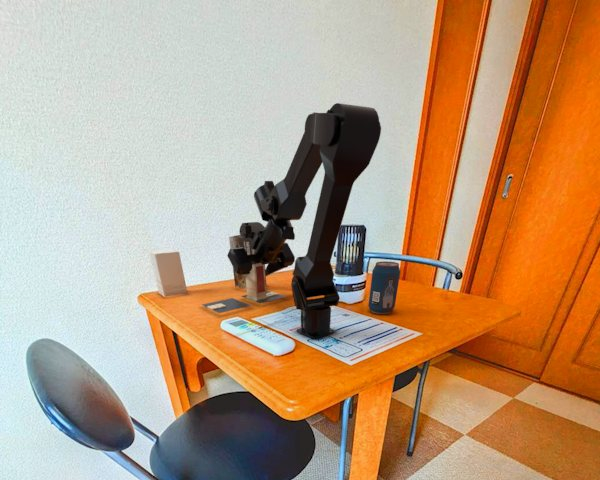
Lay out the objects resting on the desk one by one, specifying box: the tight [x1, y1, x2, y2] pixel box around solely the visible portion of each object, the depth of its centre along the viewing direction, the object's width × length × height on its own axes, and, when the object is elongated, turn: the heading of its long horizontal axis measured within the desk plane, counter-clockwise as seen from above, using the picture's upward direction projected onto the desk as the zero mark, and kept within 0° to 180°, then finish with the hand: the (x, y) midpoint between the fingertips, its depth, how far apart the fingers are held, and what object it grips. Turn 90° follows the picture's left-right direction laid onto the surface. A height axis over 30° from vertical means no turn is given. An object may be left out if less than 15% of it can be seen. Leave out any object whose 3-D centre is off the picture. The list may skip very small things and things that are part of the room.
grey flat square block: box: [241, 290, 287, 304], centre depth 94 cm, size 10×10×1 cm
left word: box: [201, 297, 252, 314], centre depth 87 cm, size 10×10×1 cm
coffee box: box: [228, 234, 267, 290], centre depth 100 cm, size 9×6×16 cm
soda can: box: [367, 261, 401, 315], centre depth 81 cm, size 7×7×12 cm
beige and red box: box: [246, 263, 267, 300], centre depth 89 cm, size 5×4×11 cm
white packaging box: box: [148, 248, 188, 298], centre depth 97 cm, size 7×7×13 cm
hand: (252, 276), depth 90 cm, fingers open, 9 cm apart
